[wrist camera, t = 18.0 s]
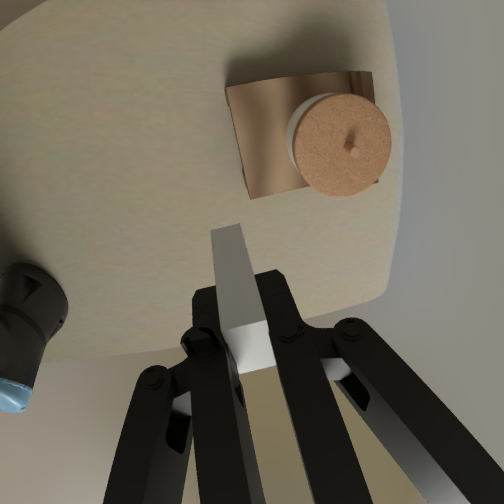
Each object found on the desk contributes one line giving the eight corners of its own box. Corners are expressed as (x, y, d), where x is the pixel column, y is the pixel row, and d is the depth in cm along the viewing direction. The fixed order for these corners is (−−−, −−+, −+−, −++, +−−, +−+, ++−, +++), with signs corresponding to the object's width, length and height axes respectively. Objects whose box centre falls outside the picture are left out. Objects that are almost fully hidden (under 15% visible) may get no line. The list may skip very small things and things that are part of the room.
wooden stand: (245, 188, 39) (254, 210, 34) (223, 86, 31) (228, 88, 26) (353, 165, 40) (378, 182, 34) (344, 70, 32) (371, 71, 26)
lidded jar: (322, 188, 37) (354, 222, 29) (256, 140, 32) (275, 162, 24) (372, 127, 33) (417, 146, 25) (312, 70, 28) (350, 71, 20)
